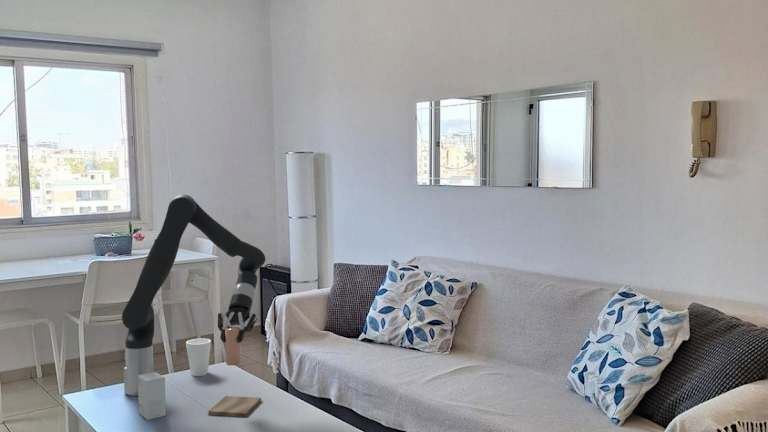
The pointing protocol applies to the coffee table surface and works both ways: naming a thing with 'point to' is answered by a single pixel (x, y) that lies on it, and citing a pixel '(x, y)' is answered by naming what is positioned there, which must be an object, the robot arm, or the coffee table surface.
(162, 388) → the small box
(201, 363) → the foam cup
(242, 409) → the board
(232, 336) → the canister
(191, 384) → the coffee table surface
